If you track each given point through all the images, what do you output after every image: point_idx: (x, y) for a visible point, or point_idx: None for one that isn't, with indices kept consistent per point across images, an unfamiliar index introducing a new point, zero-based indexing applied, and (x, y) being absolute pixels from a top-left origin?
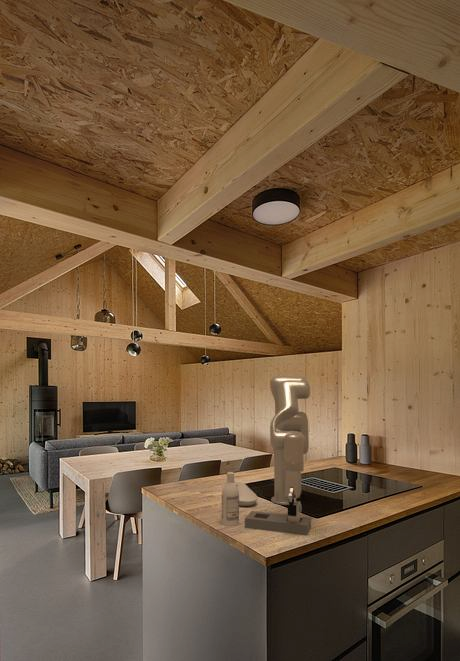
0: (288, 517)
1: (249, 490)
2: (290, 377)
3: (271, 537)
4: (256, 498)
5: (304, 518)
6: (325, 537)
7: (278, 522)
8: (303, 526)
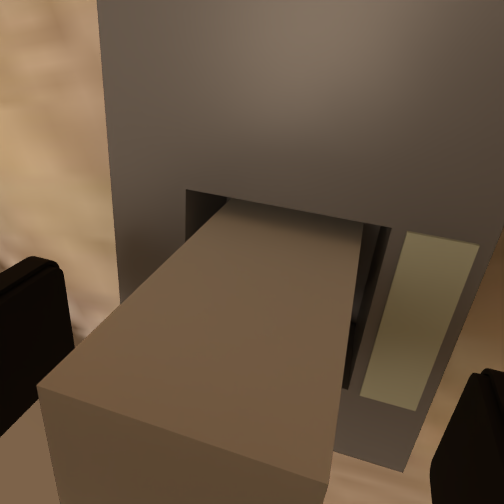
0: (197, 235)
1: None
2: None
3: (42, 5)
4: None
5: (346, 407)
6: None
7: (104, 78)
8: None
